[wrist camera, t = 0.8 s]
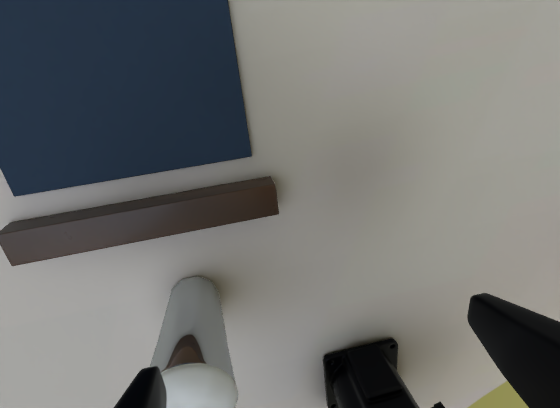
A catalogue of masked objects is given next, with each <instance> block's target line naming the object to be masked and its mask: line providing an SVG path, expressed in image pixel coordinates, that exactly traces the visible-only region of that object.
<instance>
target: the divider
mask: <svg viewBox="0 0 560 408" xmlns="http://www.w3.org/2000/svg"><path fill="white" fill-rule="evenodd" d="M277 214H279V209H278V202H277V194H276V186H275V183H274V181H273V179H272V178H271V176H269V177H263V178H257V179H252V180H246V181H241V182H235V183H229V184H224V185H218V186H213V187H207V188H201V189H196V190H190V191H185V192H179V193H173V194H168V195H162V196H157V197H151V198H145V199H140V200H134V201H129V202H123V203H117V204H112V205H106V206H101V207H95V208H89V209H84V210H78V211H73V212H67V213H61V214H56V215H50V216H45V217H39V218H34V219H28V220H22V221H17V222H11V223H9V224H8V225H7V226H5V227H4V228H3V229H2V230H1V231H0V245H1V247H2V249H3V251H4V252H5V254H6V256H7V258H8V260H9V262H10V263H11V265H12V266H16V265H21V264H26V263H31V262H36V261H41V260H46V259H51V258H57V257H62V256H67V255H72V254H77V253H82V252H87V251H93V250H98V249H103V248H108V247H113V246H118V245H123V244H128V243H134V242H139V241H144V240H149V239H154V238H159V237H164V236H170V235H175V234H180V233H185V232H190V231H195V230H200V229H206V228H211V227H216V226H221V225H226V224H231V223H236V222H241V221H247V220H252V219H257V218H262V217H267V216H272V215H277Z"/></svg>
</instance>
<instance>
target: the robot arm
mask: <svg viewBox="0 0 560 408" xmlns="http://www.w3.org/2000/svg"><path fill="white" fill-rule="evenodd" d="M468 322H469V325H470V326H471V328H472V329H473V331H474V332H475V334H476V335H477V337H478V338H479V340H480V341H481V343H482V344H483V346H484V347H485V349H486V350H487V352H488V354H489V355H490V357H491V358H492V360H493V361H494V363H495V364H496V366H497V367H498V368H499V370H500V371H501V373H502V374H503V375H504V377H505V378H506V379H507V381H508V382H509V383H510V384H511V386H512V387H513V388H514V389H515V391H516V392H517V393H518V394H519V396H520V397H521V398H522V399H523V401H524V402H525V403H526V404H527V405H528V407H529V408H560V322H558V321H556V320H553V319H551V318H548V317H546V316H543V315H541V314H538V313H536V312H533V311H530V310H528V309H525V308H523V307H520V306H518V305H515V304H513V303H510V302H508V301H505V300H503V299H500V298H498V297H495V296H493V295H490V294H487V293H482V294H477V295H474V296H472V297H471V299H470V304H469V310H468ZM397 353H398V343H397V342H396V340H395V339H393V338H391V339H387V340H383V341H379V342H375V343H371V344H367V345H363V346H359V347H355V348H351V349H348V350H344V351H340V352H336V353H332V354H328V355H326V356H325V357H324V358H323V366H324V378H325V389H326V401H327V406H328V408H419V407H418V405H417V403H416V402H415V400H414V398H413V397H412V395H411V393H410V392H409V390H408V388H407V387H406V385H405V384H404V382H403V380H402V379H401V377H400V375H399V374H398V372H397ZM166 402H167V394H166V387H165V384H164V381H163V378H162V375H161V372H160V369H159V368H158V366H153V367H148V368H144V369H142V370H141V371H140V372H139V373H138V374H137V376H136V377H135V378H134V380H133V381H132V383H131V384H130V386H129V387H128V388H127V390H126V391H125V393H124V394H123V395H122V397H121V398H120V400H119V401H118V403H117V404H116V405H115V407H114V408H166ZM432 408H445V407H444V406H443V404H442V403H441V402H438V403H436V404H434V407H432Z"/></svg>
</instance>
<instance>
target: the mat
mask: <svg viewBox="0 0 560 408" xmlns="http://www.w3.org/2000/svg"><path fill="white" fill-rule="evenodd" d="M251 156H252V154H251V147H250V141H249V134H248V128H247V122H246V115H245V109H244V102H243V96H242V89H241V83H240V77H239V70H238V64H237V57H236V51H235V44H234V38H233V32H232V25H231V19H230V12H229V6H228V0H0V168H1V170H2V172H3V174H4V176H5V179H6V181H7V183H8V185H9V187H10V189H11V191H12V193H13V195H14V196H21V195H26V194H32V193H38V192H44V191H50V190H56V189H62V188H68V187H74V186H80V185H86V184H91V183H97V182H103V181H109V180H115V179H121V178H127V177H133V176H139V175H145V174H151V173H156V172H162V171H168V170H174V169H180V168H186V167H192V166H198V165H204V164H210V163H215V162H221V161H227V160H233V159H239V158H245V157H251Z"/></svg>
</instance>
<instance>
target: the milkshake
mask: <svg viewBox="0 0 560 408" xmlns="http://www.w3.org/2000/svg"><path fill="white" fill-rule="evenodd" d="M153 366H158V368H159V369H160V372H161V375H162V378H163V381H164V384H165V387H166V394H167V402H166V408H235V406H236V403H237V400H238V390H237V386H236V382H235V377H234V372H233V367H232V363H231V358H230V353H229V348H228V342H227V336H226V330H225V324H224V319H223V313H222V307H221V301H220V296H219V291H218V290H217V288H216V287H215V285H214V284H213V282H212V281H211V280H208V279H205V278H202V277H200V276H195V277H190V278H184V279H182V280H181V281H180V282H179V283H177V284H176V285H175V286H174V287H173V288H172V290H171V293H170V297H169V301H168V305H167V308H166V312H165V316H164V319H163V323H162V327H161V331H160V334H159V338H158V341H157V345H156V348H155V351H154V354H153V357H152V360H151V364H150V367H153Z"/></svg>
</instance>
